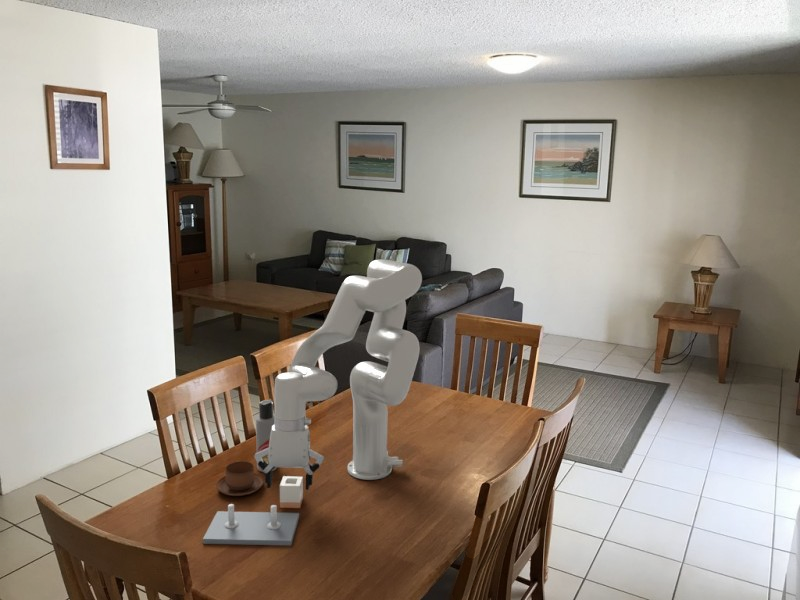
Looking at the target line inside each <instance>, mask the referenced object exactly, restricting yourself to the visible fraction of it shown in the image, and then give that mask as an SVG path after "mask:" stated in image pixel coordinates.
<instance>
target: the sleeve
mask: <svg viewBox="0 0 800 600" xmlns="http://www.w3.org/2000/svg"><path fill="white" fill-rule="evenodd" d="M303 484H304V479H303V476H292V475H291V476H290V475H287V476H285V475H283V476H282V479H281V481H280V484H279V506H280V508H282V509H283V508H285V509H286V508H287V509H291V508H292V509H301V505H302V503H303V499H304V485H303Z"/></svg>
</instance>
